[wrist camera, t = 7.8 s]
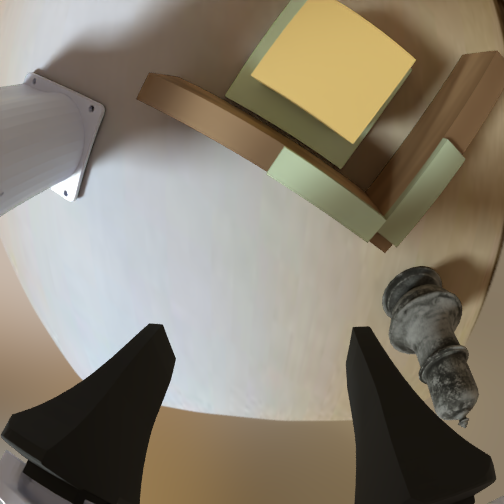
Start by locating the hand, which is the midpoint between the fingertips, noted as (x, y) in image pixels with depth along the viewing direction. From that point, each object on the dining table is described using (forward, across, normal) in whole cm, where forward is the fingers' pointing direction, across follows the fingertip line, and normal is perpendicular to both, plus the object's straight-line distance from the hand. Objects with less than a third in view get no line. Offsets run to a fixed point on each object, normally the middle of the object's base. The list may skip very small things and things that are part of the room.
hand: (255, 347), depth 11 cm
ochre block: (+10, -4, -10) cm, 14 cm away
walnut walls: (+10, -4, -11) cm, 15 cm away
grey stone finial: (+10, -11, +6) cm, 16 cm away
